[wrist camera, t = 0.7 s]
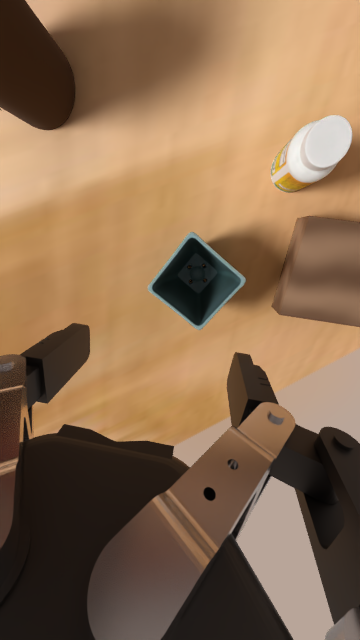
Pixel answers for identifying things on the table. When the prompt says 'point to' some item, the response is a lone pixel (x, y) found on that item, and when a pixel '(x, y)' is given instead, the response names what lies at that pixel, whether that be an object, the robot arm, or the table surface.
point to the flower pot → (196, 281)
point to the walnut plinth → (321, 272)
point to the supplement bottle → (311, 153)
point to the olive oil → (32, 69)
